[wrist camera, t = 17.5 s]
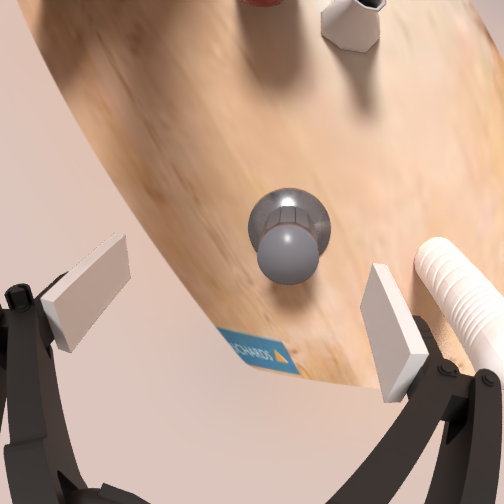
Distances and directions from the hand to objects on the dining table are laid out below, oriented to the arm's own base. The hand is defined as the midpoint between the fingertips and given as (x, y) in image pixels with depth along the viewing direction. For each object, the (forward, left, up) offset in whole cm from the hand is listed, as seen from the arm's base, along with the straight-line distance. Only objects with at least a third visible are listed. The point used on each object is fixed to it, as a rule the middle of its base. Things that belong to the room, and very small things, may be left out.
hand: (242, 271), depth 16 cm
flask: (-11, +19, -23) cm, 31 cm away
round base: (+6, -1, -22) cm, 23 cm away
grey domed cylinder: (+6, -1, -22) cm, 22 cm away
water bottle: (+20, +15, -22) cm, 33 cm away
